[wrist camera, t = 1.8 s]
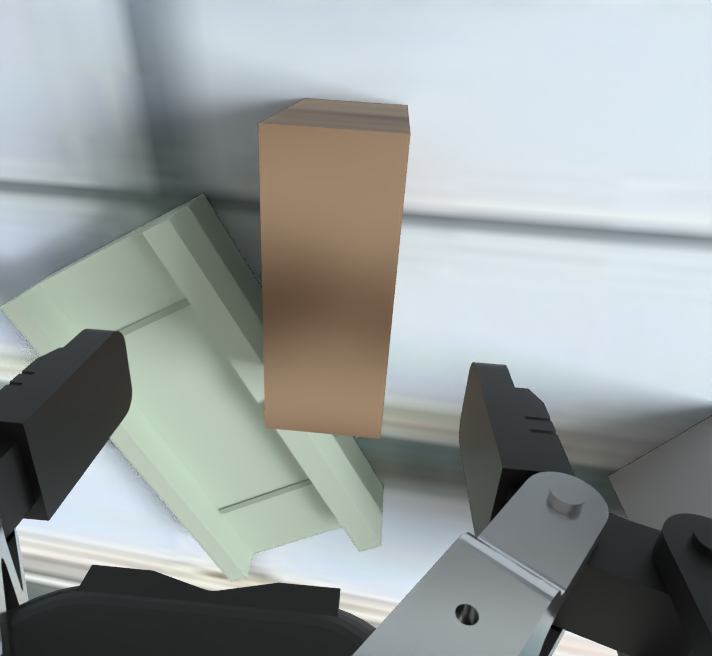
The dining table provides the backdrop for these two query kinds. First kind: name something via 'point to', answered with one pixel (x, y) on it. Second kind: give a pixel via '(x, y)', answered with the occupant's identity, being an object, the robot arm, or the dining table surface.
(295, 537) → the ledge
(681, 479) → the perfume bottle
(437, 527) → the dining table surface
